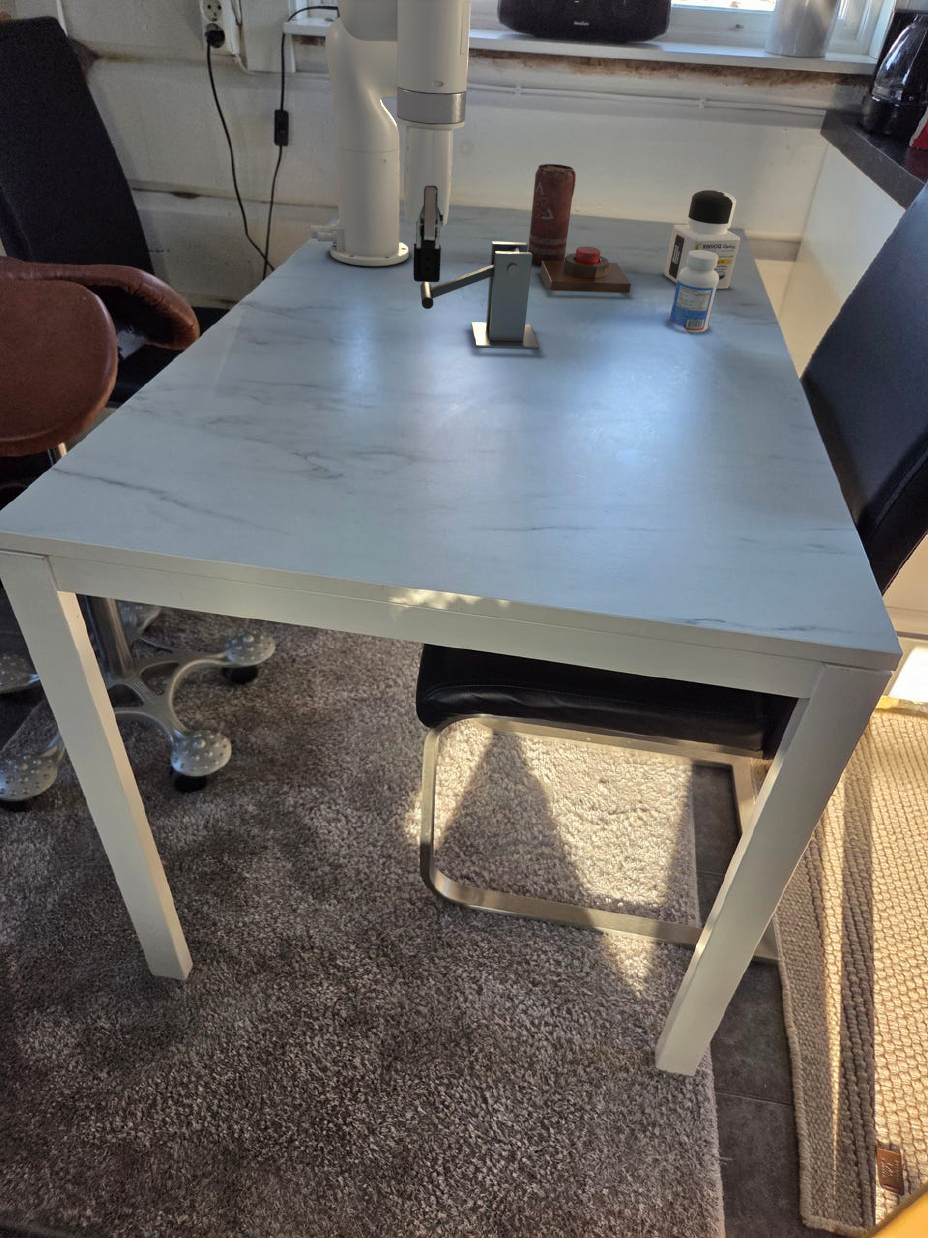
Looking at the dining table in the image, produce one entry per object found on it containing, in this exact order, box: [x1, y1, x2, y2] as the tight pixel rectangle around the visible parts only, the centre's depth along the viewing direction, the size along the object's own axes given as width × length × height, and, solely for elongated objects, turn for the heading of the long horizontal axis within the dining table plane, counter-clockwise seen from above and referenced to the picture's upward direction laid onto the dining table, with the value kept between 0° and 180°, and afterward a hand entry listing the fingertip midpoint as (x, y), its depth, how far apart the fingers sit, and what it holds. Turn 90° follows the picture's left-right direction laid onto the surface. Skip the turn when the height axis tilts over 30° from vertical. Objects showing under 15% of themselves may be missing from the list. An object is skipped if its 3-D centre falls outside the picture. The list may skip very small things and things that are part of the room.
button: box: [575, 246, 601, 264], centre depth 125 cm, size 4×4×2 cm
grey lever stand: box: [471, 241, 540, 350], centre depth 104 cm, size 8×8×12 cm
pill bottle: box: [669, 250, 719, 334], centre depth 113 cm, size 6×5×10 cm
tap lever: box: [419, 247, 519, 310], centre depth 102 cm, size 13×6×2 cm, turn 94°
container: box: [663, 189, 741, 290], centre depth 128 cm, size 8×8×13 cm
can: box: [527, 163, 577, 267], centre depth 132 cm, size 6×6×14 cm
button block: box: [540, 252, 632, 294], centre depth 126 cm, size 12×10×4 cm
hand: (426, 279), depth 102 cm, fingers closed
